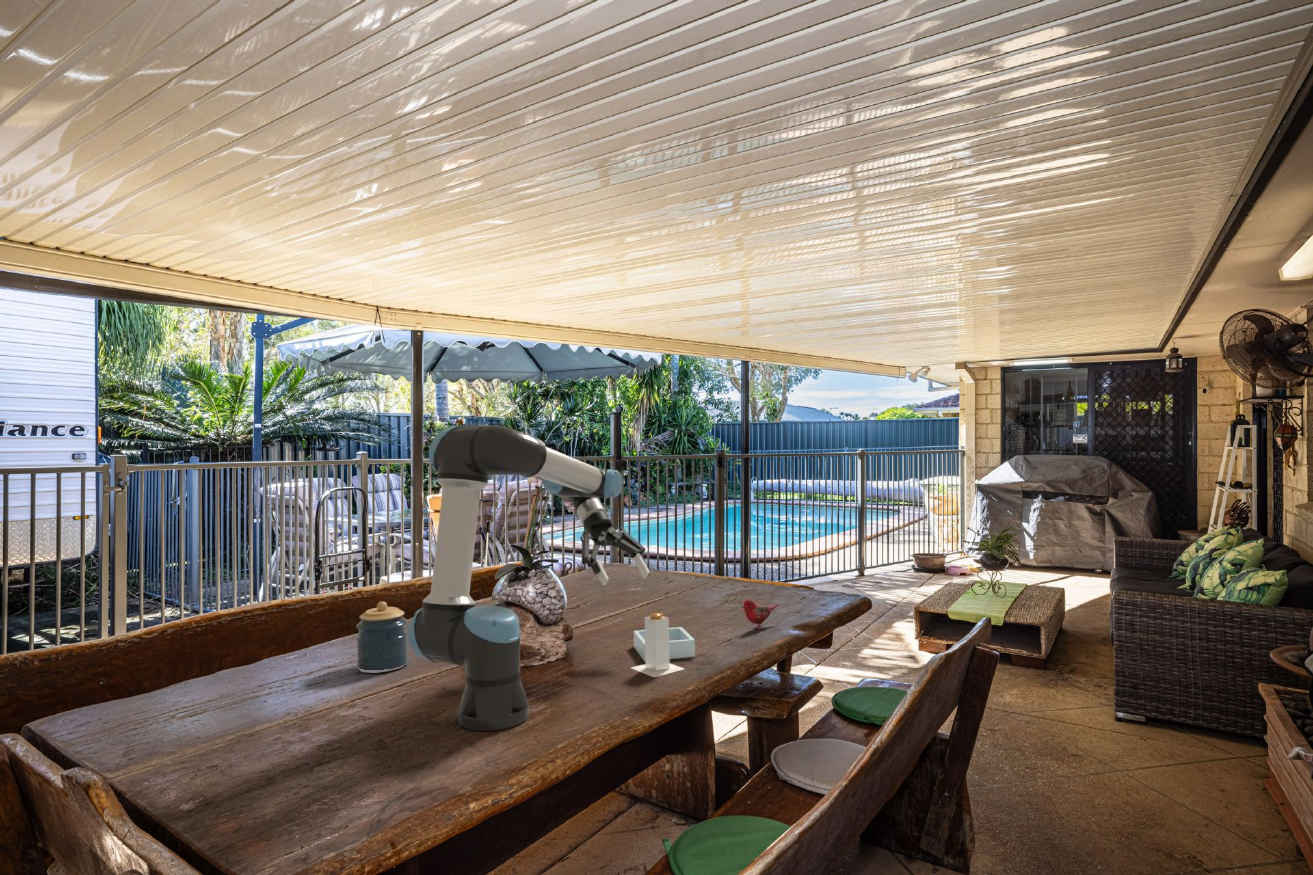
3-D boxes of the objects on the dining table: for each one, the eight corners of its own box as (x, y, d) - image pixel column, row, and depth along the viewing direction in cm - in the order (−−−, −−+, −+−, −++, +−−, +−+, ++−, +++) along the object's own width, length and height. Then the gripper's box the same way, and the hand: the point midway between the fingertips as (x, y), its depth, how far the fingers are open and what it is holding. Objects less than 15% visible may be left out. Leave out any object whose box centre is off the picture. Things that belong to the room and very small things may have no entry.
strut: (656, 672, 183) (655, 617, 183) (645, 667, 186) (644, 614, 187) (669, 668, 186) (668, 614, 186) (659, 664, 189) (658, 611, 189)
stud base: (654, 683, 179) (653, 660, 179) (630, 673, 187) (629, 652, 187) (685, 674, 185) (684, 653, 185) (660, 665, 193) (660, 644, 193)
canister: (364, 677, 188) (363, 609, 188) (351, 665, 198) (350, 601, 198) (414, 667, 195) (413, 602, 195) (400, 656, 206) (399, 594, 206)
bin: (644, 666, 192) (643, 643, 192) (634, 651, 206) (633, 630, 206) (695, 662, 196) (694, 639, 196) (681, 647, 209) (681, 627, 209)
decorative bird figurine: (739, 632, 225) (739, 599, 225) (775, 621, 237) (775, 591, 237) (746, 633, 223) (746, 601, 223) (782, 623, 235) (782, 592, 235)
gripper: (624, 523, 218) (657, 580, 206) (551, 531, 202) (582, 593, 191) (634, 506, 213) (668, 563, 202) (561, 513, 198) (593, 576, 186)
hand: (626, 578), depth 196 cm, fingers open, 13 cm apart
